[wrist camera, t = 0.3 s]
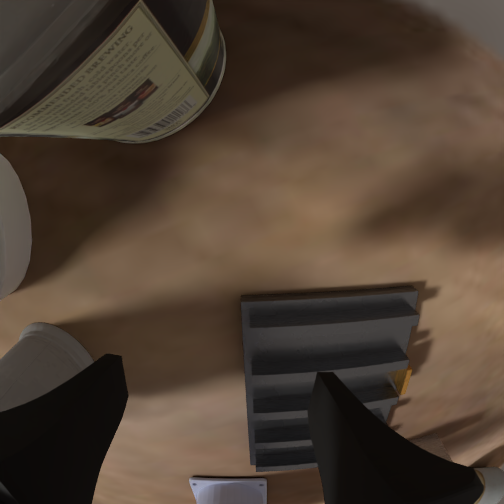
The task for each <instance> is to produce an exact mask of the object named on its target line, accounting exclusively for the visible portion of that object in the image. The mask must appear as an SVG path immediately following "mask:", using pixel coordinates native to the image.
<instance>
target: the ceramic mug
mask: <svg viewBox="0 0 504 504" xmlns="http://www.w3.org/2000/svg"><path fill="white" fill-rule="evenodd" d="M474 470H475V471H476V473H477V475H478V477H479V478H480V480H481V482H482V484H483V485H484V491H483V493H482V495H481V497H480V498H479V499H478V500H477V501H476V502H475V503H474V504H497V503H498V502H499V501H500V500H501V499H502V497H503V495H504V472H503V470H501V469H500V468H498V467H485V468H474Z"/></svg>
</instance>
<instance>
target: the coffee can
mask: <svg viewBox="0 0 504 504" xmlns="http://www.w3.org/2000/svg"><path fill="white" fill-rule="evenodd" d="M225 64H226V47H225V41H224V38H223V35H222V33H221V30H220V28H219V24H218V20H217V16H216V12H215V9H214V5H213V1H212V0H0V137H8V136H14V137H61V138H85V139H100V140H114V141H118V142H122V143H134V144H135V143H147V142H152V141H157V140H159V139H162V138H165V137H167V136H169V135H172V134H174V133H175V132H177V131H179V130H181V129H182V128H184V127H185V126H187V125H188V124H189V123H191V122H192V121H193V120H194V119H196V118H197V117H198V116H199V115H200V114H201V113H202V112H203V110H204V109H205V108H206V107H207V106H208V105H209V104H210V102H211V101H212V99H213V98H214V96H215V94H216V92H217V90H218V88H219V86H220V84H221V81H222V78H223V75H224V71H225Z"/></svg>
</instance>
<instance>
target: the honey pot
mask: <svg viewBox="0 0 504 504" xmlns="http://www.w3.org/2000/svg"><path fill="white" fill-rule="evenodd" d="M31 245H32V234H31V218H30V213H29V209H28V204H27V199H26V195H25V193H24V190H23V188H22V185H21V182H20V180H19V177H18V175H17V174H16V172H15V171H14V169H13V167H12V166H11V164H10V163H9V161H8V160H7V159H6V158H5V157H3V156H2V155H1V154H0V301H1V300H2V299H3V298H5V297H6V296H7V295H9V294H10V293H12V292H13V291H15V290H16V289H17V288H18V286H19V285H20V283H21V282H22V280H23V279H24V277H25V274H26V271H27V268H28V265H29V262H30V254H31Z"/></svg>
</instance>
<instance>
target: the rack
mask: <svg viewBox="0 0 504 504" xmlns="http://www.w3.org/2000/svg"><path fill="white" fill-rule="evenodd" d="M417 297H418V290H417V289H415V288H414V287H413V286H402V287H389V288H376V289H362V290H347V291H330V292H312V293H292V294H268V295H241V314H242V333H243V351H244V369H245V386H246V402H247V418H248V434H249V449H250V464H251V465H256V472H265V471H283V470H296V469H306V468H315V467H318V464H317V460H316V456H315V453H314V449H313V445H312V441H311V436H310V431H309V422H308V412H307V410H308V407H309V403H310V399H311V395H312V391H313V387H314V383H315V379H316V375H317V372H334V373H335V374H336V376H337V377H338V378H339V379H340V380H341V381H342V382H343V383H344V384H345V386H346V387H347V388H348V389H349V390H350V391H351V392H352V393H353V394H354V395H355V396H356V397H357V398H358V399H359V400H360V401H361V402H362V404H364V405H365V406H366V407H367V408H368V409H369V410H370V411H371V412H372V413H373V414H374V415H375V416H376V417H378V418H379V419H380V420H381V421H382V422H383V423H385V424H386V425H387V423H386V420H387V417H388V414H389V411H390V408H391V405H396V404H397V401H398V398H399V397H398V395H397V393H396V388H397V390H398V391H399V393H400V395H402V394H405V392H406V389H407V386H408V383H409V379H410V376H411V372H412V369H411V367H410V366H409V364H408V363H409V358H408V357H407V356H406V350H407V346H408V342H409V337H410V333H411V328H412V326H417V325H418V320H419V316H420V315H419V314H418V313H417V312H416V310H415V308H416V302H417ZM387 426H388V425H387Z"/></svg>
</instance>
